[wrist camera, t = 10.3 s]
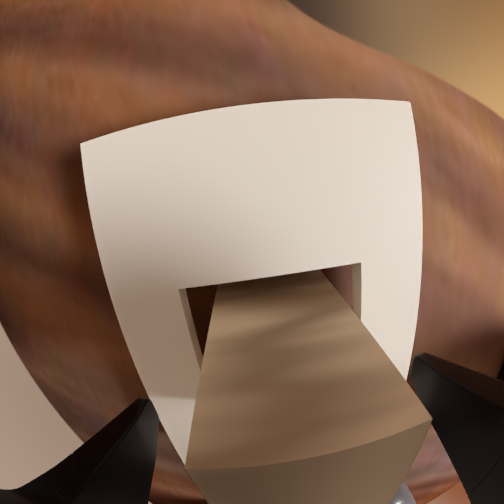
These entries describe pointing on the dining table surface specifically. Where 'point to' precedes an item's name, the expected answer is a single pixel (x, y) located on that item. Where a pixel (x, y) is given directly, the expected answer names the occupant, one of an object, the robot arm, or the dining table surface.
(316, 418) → the wood peg
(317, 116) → the hole board
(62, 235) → the dining table surface
